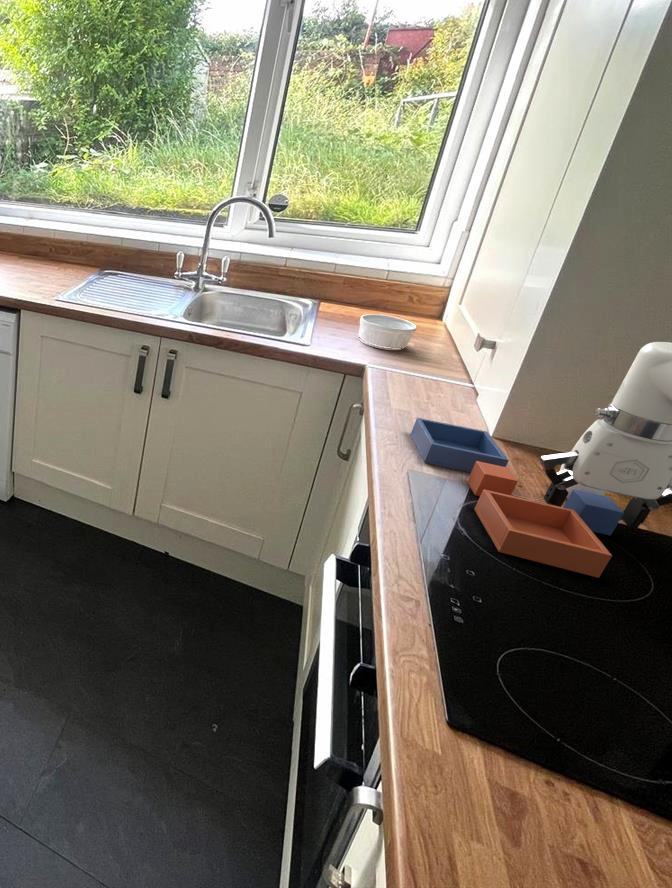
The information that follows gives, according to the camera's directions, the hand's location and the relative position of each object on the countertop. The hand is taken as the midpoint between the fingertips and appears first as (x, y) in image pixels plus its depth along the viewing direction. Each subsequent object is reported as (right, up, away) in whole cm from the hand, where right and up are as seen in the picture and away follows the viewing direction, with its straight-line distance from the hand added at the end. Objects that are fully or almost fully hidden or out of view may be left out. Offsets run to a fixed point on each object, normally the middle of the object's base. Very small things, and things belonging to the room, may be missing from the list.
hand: (588, 514), depth 94 cm
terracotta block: (-10, +2, +8) cm, 12 cm away
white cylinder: (+6, +1, +8) cm, 10 cm away
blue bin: (-6, +6, +19) cm, 20 cm away
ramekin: (+21, +28, +74) cm, 82 cm away
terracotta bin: (-13, -3, -4) cm, 14 cm away
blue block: (0, -1, +1) cm, 2 cm away
